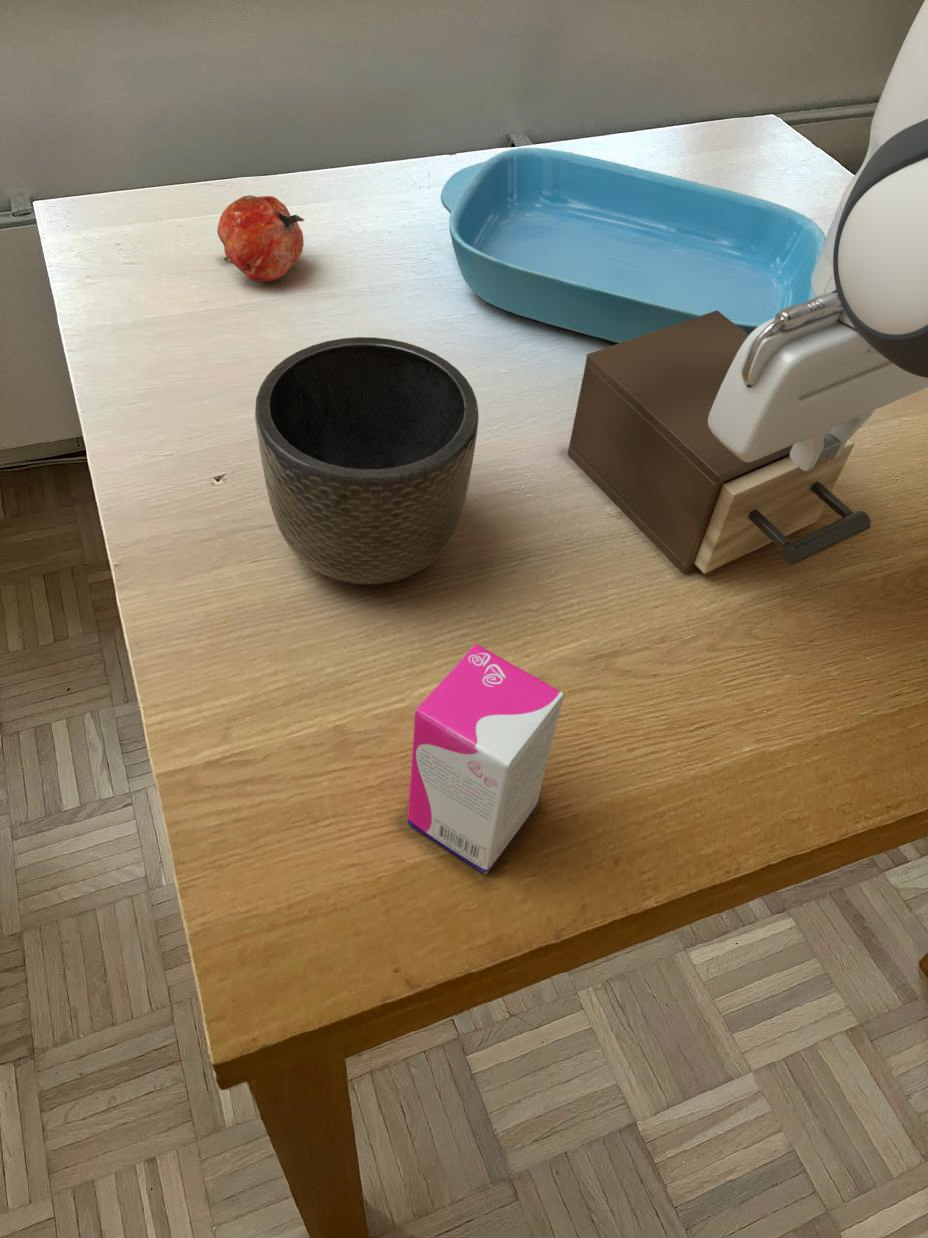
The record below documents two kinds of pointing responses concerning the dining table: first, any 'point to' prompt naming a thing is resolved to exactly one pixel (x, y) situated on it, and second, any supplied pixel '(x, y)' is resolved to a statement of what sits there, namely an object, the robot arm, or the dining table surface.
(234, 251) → the pomegranate
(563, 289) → the casserole dish
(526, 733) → the supplement box
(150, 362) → the dining table surface
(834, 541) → the drawer
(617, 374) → the cabinet
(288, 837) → the dining table surface
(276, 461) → the planter
